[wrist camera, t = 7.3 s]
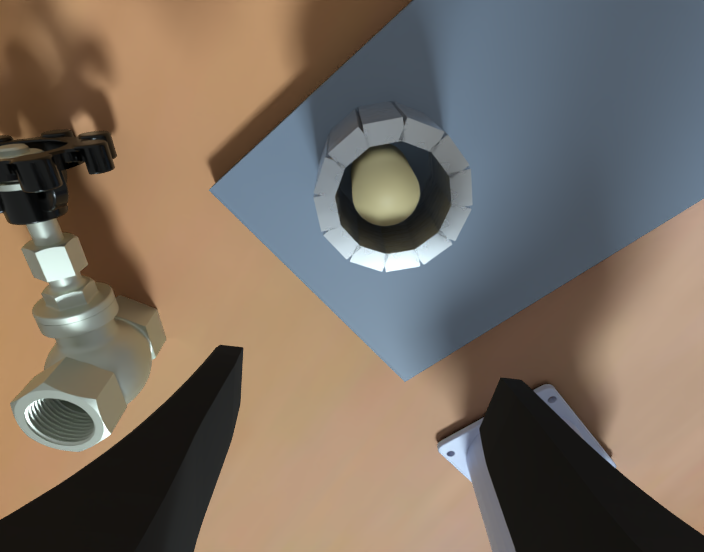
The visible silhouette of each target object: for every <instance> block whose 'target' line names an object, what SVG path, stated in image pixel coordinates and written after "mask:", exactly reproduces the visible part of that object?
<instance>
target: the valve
mask: <svg viewBox="0 0 704 552" xmlns="http://www.w3.org/2000/svg"><path fill="white" fill-rule="evenodd" d="M116 157H117V154H116V151H115V147H114V144H113V140H112V137H111V134H110V132H108V131H93V132H86V133H82V134H80V135H79V136H78V137H74V135H73V132H72V131H71V130H68V129H63V130H52V131H47V132H43V133H41V136H40V137H35V138H27V139H17V140H13V138H12V137H11V136H9V135H0V213H3V214H4V216H5V218H6V220H7V222H8V223H10V224H15V225H26V226H27V228H28V230H29V233H30V235H31V237H32V240H31V241H29V242H27V243H26V244H25V245H24V246H23V247H22V248H21V249H22V252H23V254H24V256H25V258H26V261H27V263H28V265H29V267H30V270H31V272H32V274H33V276H34V278H37V279H40V280H43V281H45V282H48V283H49V285H48V286H47V287H46V288H45V289H44V290H43V292H42V293H41V294H42V296H43V298H41V299H40V300H39V301H38V302H37V303H36V304H35V305H34V307H33V309H32V314H33V316H34V318H35V320H36V322H37V324H38V327H39V329H40V331H41V333H42V334H43V335H45V336H47V337H50V338H55V340H56V343H55V345H54V346H53V348H52V349H51V351H50V352H49V354H48V357H47V359H46V362H45V366H44V371H42V372H41V373H39V374H38V375H36V376H34V378H33V379H32V380H31V381H30V382H29V383H28V384H27V385H26V386H25V387H24V389H23V390H22V391H21V392H20V393H19V394H18V395H17V396H16V397H15V398H14V400H13V401H12V402H11V403H10V404H11V408H12V411H13V414H14V417H15V419H16V421H17V423H18V425H19V426H20V428H21V429H22V430H23V432H24V433H25V434H26V435H27V436H29V437H30V438H31V439H33V440H35V441H37V442H39V443H41V444H43V445H46V446H48V447H52V448H55V449H60V450H65V451H74V452H80V451H83V450H85V449H88V448H90V447H92V446H94V445H95V444H97V443H99V442H100V441H102V440H103V439H105V438H106V437H108V436H109V435H110V434H111V433H112V432H113V430H114V428H115V427H116V425H117V423H118V421H119V420H120V418H121V416H122V415H123V413H124V411H125V409H126V408H127V404H128V403H129V402H131V401H132V400H133V399H134V398H135V397H136V396H137V395H138V394H139V393H140V391H141V390H142V389H143V387H144V386H145V384H146V382H147V380H148V378H149V375H150V371H151V366H152V360H153V359H154V358H156V356H157V355H158V353H159V351H160V349H161V348H162V346H163V344H164V343H165V341H166V335H165V332H164V329H163V326H162V322H161V319H160V316H159V313H158V310H157V309H155V308H153V307H151V306H148V305H145V304H143V303H140V302H138V301H135V300H132V299H130V298H127V297H124V296H121V295H119V296H117V297H116V298H115V295H114V292H113V289H112V287H111V286H109V285H108V284H106V283H102V282H95V281H94V280H93V279H92V278H90V277H88V276H84V275H81V273H80V271H81V270H83V269H84V268H85V267H86V266H87V265H88V262H87V260H86V257H85V254H84V252H83V249H82V246H81V244H80V241H79V238H78V236H76V235H74V234H71V233H65V232H63V233H62V231H61V228H60V226H59V223H58V221H57V217H60V216H62V215H64V214H65V213H66V212H67V211H68V206H67V203H68V198H69V194H68V188H67V184H66V183H67V170H66V169H69V168H72V167H75V166H77V165H80V164H82V163H84V162H85V163H86V166H87V169H88V172H89V174H100V173H105V172H108V171H111V170H113V169H114V168H115V166H114V163H113V159H114V158H116Z"/></svg>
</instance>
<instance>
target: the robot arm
mask: <svg viewBox="0 0 704 552" xmlns="http://www.w3.org/2000/svg"><path fill="white" fill-rule="evenodd" d="M242 362H243V347H234V346H226V345H219V346H218V347H216V348H215V350H214V351H213V352H212V353H211V354H210V356H209V357H208V358H207V359H206V360H205V361H204V363H203V364H202V365H201V366H200V367H199V368H198V369H197V370H196V371H195V372H194V374H193V375H192V376H191V377H190V378H189V379H188V380H187V381H186V382H185V383H184V384H183V385H182V386H181V387H180V388H179V389H178V390H177V391H176V392H175V393H174V394H173V395H172V396H171V397H170V398H169V399H168V400H167V401H166V402H165V403H164V404H162V405H161V406H160V407H159V408H158V409H157V410H156V411H155V412H154V413H152V414H151V415H150V416H149V417H148V418H147V419H146V420H145V421H144V422H142V423H141V424H140V425H139V426H138V427H137V428H135V429H134V430H133V431H132V432H131V433H129V434H128V435H127V436H126V437H124V438H123V439H122V440H121V441H119V442H118V443H117V444H115V445H114V446H113V447H112V448H110V449H109V450H108V451H106V452H105V453H104V454H102V455H101V456H99V457H98V458H97V459H95V460H94V461H92V462H91V463H90V464H88V465H87V466H85V467H84V468H82V469H81V470H80V471H78V472H77V473H75V474H74V475H72V476H71V477H69V478H68V479H66V480H65V481H63V482H62V483H60V484H59V485H57V486H56V487H54V488H52V489H51V490H49V491H47V492H46V493H44V494H43V495H41V496H39V497H38V498H36V499H34V500H33V501H31V502H29V503H28V504H26V505H25V506H23V507H21V508H20V509H18V510H16V511H15V512H13V513H11V514H10V515H8V516H6V517H4V518H3V519H1V520H0V552H194V549H195V545H196V541H197V538H198V534H199V531H200V528H201V525H202V522H203V519H204V516H205V513H206V511H207V508H208V505H209V502H210V499H211V497H212V494H213V491H214V488H215V485H216V483H217V480H218V477H219V474H220V471H221V469H222V466H223V463H224V460H225V457H226V455H227V452H228V449H229V446H230V443H231V440H232V437H233V433H234V428H235V424H236V420H237V416H238V411H239V407H240V400H241V381H242ZM550 397H551V398H550ZM437 447H438V451H439V453H440V454H442V455H443V456H444V457H445V458H446V459H447V460H448V461H449V462H450V463H451V464H452V465H453V466H455V467H456V468H457V469H458V470H459V471H460V472H461V473H462V474H463V475H464V476H465V477H467V478H468V479H469V480H470V481H471V482H472V484H473V488H474V491H475V494H476V498H477V501H478V505H479V508H480V511H481V515H482V518H483V521H484V525H485V528H486V532H487V535H488V538H489V542H490V545H491V549H492V552H704V535H702V534H701V533H699V532H698V531H696V530H695V529H694V528H692V527H691V526H689V525H688V524H686V523H685V522H684V521H682V520H681V519H679V518H678V517H677V516H675V515H674V514H672V513H671V512H670V511H668V510H667V509H666V508H664V507H663V506H662V505H660V504H659V503H658V502H657V501H655V500H654V499H653V498H651V497H650V496H649V495H648V494H646V493H645V492H644V491H642V490H641V489H640V488H639V487H637V486H636V485H635V484H634V483H632V482H631V481H630V480H629V479H628V478H626V477H625V476H624V475H623V474H622V473H620V472H619V471H618V470H617V469H616V465H615V463H614V461H613V460H612V459H611V458H610V456H609V455H608V454H607V453H606V451H605V450H604V449H603V448H602V446H601V445H600V444H599V443H598V441H597V440H596V439H595V438H594V436H593V435H592V434H591V433H590V431H589V430H588V429H587V428H586V426H585V425H584V424H583V423H582V421H581V420H580V419H579V418H578V416H577V415H576V414H575V413H574V411H573V410H572V409H571V408H570V406H569V405H568V404H567V403H566V401H565V400H564V399H563V398H562V396H561V395H560V394H559V393H558V391H557V390H556V389H555V388H554V386H552V385H550V384H544V385H542V386H540V387H538V388H536V389H534V390H532V389H531V388H530V387H529V386H528V385H526V384H525V383H524V382H523V381H522V380H517V379H508V378H500V380H499V383H498V385H497V388H496V390H495V392H494V395H493V397H492V399H491V402H490V404H489V407H488V409H487V411H486V414H485V416H484V417H483V418H481V419H480V420H478V421H476V422H474V423H472V424H470V425H469V426H467V427H465V428H463V429H461V430H460V431H458V432H456V433H454V434H452V435H450V436H449V437H447V438H445V439H443V440H441V441H440V442H439V443H438V444H437Z"/></svg>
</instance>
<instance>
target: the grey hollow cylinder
mask: <svg viewBox="0 0 704 552" xmlns="http://www.w3.org/2000/svg"><path fill="white" fill-rule="evenodd" d="M358 109H359V114H358V112H357V111H356V110H355V109H354V110H353V111H352V112H350V113H349V114H348V115H347V116H346V117H345V118H344V119H343V120H342V121H340V122H339V123H338V124H337V125H336V126H335V127H334V128H333V129H332V130H331V132H330V134H328V137H327V140H326V143H325V146H324V149H323V152H322V155H321V159H320V162H319V166H318V172H317V177H316V183H315V188H314V197H313V198H314V202H315V207H316V211H317V215H318V220H319V224H320V228H321V232H322V231H324V232H323V236H324V237H325V238H326V239H327V240H328V241H329V242H330V243H331V244H332V245H333V246H334V247H335V248H336V249H337V250H338V251H339V252H340V253H341V254H342V255H343V256H344V257H345V259H346V260H347V259H348V258H349V257H350V262H353V263H356V264H359V265H362V266H365V267H369V268H372V269H375V270H378V271H381V272H382V271H383V268H384V266H385V269H386V272H389V271H395V270H401V269H407V268H413V267H419V266H420V262H419V260H420V261H421V262H422V263H423V264H426V263H427V262H428V261H430V260H431V259H433V258H434V257H435V256H437V255H438V254H440V253H441V252H442V251H444V250H445V249H447V248H448V247H449V246H451V245H452V242H451V241H450V239H451V240H454V241H456V239H457V237H458V235H459V233H460V231H461V229H462V227H463V225H464V223H465V221H466V219H467V217H468V215H469V214H470V212H471V210H472V209H471V208H470V207H469V206H471V205H473V203H472V181H471V169H470V168H469V167H468V166H469V163H468V162H467V161H466V159H465V158H464V156H463V155H462V154H461V152H460V151H459V149H458V148H457V147H456V145H455V144H454V142H453V141H452V139H451V138H450V137H449V135H448V134H447V133H446V132H445V131H443V130H442V129H441V128H440V127H439V126H438V125H437V124H435V123H434V122H433V121H432V120H431V119H430V118H429V117H428V116H426V115H425V114H424V113H422V112H420V111H417V110H415V109H412V108H410V107H407V106H405V105H402V104H399V103H397V102H393V104H392V103H391V102H390V101H387V102H381V103H376V104H371V105H366V106H361V107H358ZM399 141H403V142H406V143H409V144H411V145H414V146H417V147H419V148H422V149H425V150H427V151H428V156H429V167H430V175H429V177H428V179H427V182H426V184H425V186H424V188H423V190H422V193H421V195H420V197H419V201H418V204H417V206H416V208H415V210H414V211H413V213H412V214H411V215H410V216H409V217H408V218H407V219H405V220H404V221H402V222H400V223H398V224H395V225H391V226H379V225H375V224H372V223H370V222H368V221H366V220H365V219H363V218H362V217H361V216H360V215H359V213H358V212H357V210H356V208H355V206H354V204H353V203H352V202H351V201H350V200H349V198H348V197H347V196H346V195H345V194H344V193H343V192H342V191H341V188H340V181H341V178H342V175H343V172H344V170H345V168H346V167H347V166H348V165H349V164H350V163H352V162H353V161H354V160H355V159H356V158H357V157H359V156H360V155H361V154H362V153H363V152H364V151H366V150H367V149H368V148H369V147H372V146H378V145H383V144H388V143H394V142H399Z"/></svg>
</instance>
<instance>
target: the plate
mask: <svg viewBox="0 0 704 552" xmlns="http://www.w3.org/2000/svg"><path fill="white" fill-rule="evenodd" d="M387 101H390V102H391V103H392V104H393V102H397V103H399V104H402V105H405V106H407V107H410V108H412V109H415V110H417V111H420V112H422V113H424V114H425V115H426V116H428V117H429V118H430V119H431V120H432V121H433V122H434V123H435V124H437V125H438V126H439V127H440V128H441V129H442V130H443V131H445V132H446V133H447V134H448V135H449V137H450V138H451V139H452V141H453V142H454V144H455V145H456V147H457V148H458V149H459V151H460V152H461V154H462V155H463V156H464V158H465V159H466V161H467V162H468V163H469V166H468V167H469V168H470V169H471V181H472V203H473V205H471V206H469V207H470V208H471V209H472V210H471V212H470V214H469V215H468V217H467V219H466V221H465V223H464V225H463V227H462V229H461V231H460V233H459V235H458V237H457V239H456V241H454V240H451V239H450V241H451V242H452V245H451V246H449V247H448V248H447V249H445V250H444V251H442V252H441V253H440V254H438V255H437V256H435V257H434V258H433V259H431V260H430V261H428V262H427V263H426V264H423V263H422V262H421V261H420V260H419V262H420V266H419V267H413V268H407V269H401V270H395V271H389V272H386V269H385V266H384V268H383V271H382V272H381V271H378V270H375V269H372V268H369V267H365V266H362V265H359V264H356V263H353V262H350V257H349V258H348V259H347V260H346V259H345V257H344V256H343V255H342V254H341V253H340V252H339V251H338V250H337V249H336V248H335V247H334V246H333V245H332V244H331V243H330V242H329V241H328V240H327V239H326V238H325V237H324V236H323V232H324V231H322V232H321V228H320V224H319V220H318V215H317V211H316V207H315V202H314V198H313V197H314V188H315V183H316V177H317V172H318V166H319V162H320V159H321V155H322V152H323V149H324V146H325V143H326V140H327V137H328V134H330V132H331V130H332V129H333V128H334V127H335V126H336V125H337V124H338V123H339V122H340V121H342V120H343V119H344V118H345V117H346V116H347V115H348V114H349V113H350V112H352V111H353V110H354V109H355V110H356V111H357V112H358V114H359V109H358V107H361V106H366V105H371V104H376V103H381V102H387ZM429 175H430V167H429V156H428V151H427V150H425V149H422V148H419V147H417V146H414V145H411V144H409V143H406V142H403V141H399V142H394V143H388V144H383V145H378V146H372V147H369V148H368V149H367V150H366V151H364V152H363V153H362V154H361V155H360V156H359V157H357V158H356V159H355V160H354V161H353V162H352V163H350V164H349V165H348V166H347V167H346V168H345V170H344V172H343V175H342V178H341V181H340V188H341V191H342V192H343V193H344V194H345V195H346V196H347V197H348V198H349V200H350V201H351V202H352V203H353V204H354V206H355V208H356V210H357V212H358V213H359V215H360V216H361V217H362V218H363V219H365V220H366V221H368V222H370V223H372V224H375V225H379V226H391V225H395V224H398V223H400V222H402V221H404V220H405V219H407V218H408V217H409V216H410V215H411V214H412V213H413V211H414V210H415V208H416V206H417V204H418V201H419V197H420V195H421V193H422V190H423V188H424V186H425V184H426V182H427V179H428V177H429ZM209 191H210V192H211V193H212V194H213V195H214V196H215V197H216V198H217V199H218V200H219V201H220V202H221V203H222V204H223V205H225V206H226V207H227V208H228V209H229V210H230V211H231V212H232V213H233V214H234V215H235V216H236V217H237V218H238V219H239V220H240V221H241V222H242V223H243V224H244V225H245V226H246V227H247V228H248V229H249V230H250V231H251V232H252V233H253V234H254V235H255V236H256V237H257V238H258V239H259V240H260V241H261V242H262V243H263V244H264V245H265V246H266V247H267V248H269V249H270V250H271V251H272V252H273V253H274V254H275V255H276V256H277V257H278V258H279V259H280V260H281V261H282V262H283V263H284V264H285V265H286V266H287V267H288V268H289V269H290V270H291V271H292V272H293V273H294V274H295V275H296V276H297V277H298V278H299V279H300V280H301V281H302V282H303V283H304V284H305V285H306V286H307V287H308V288H309V289H310V290H311V291H312V292H314V293H315V294H316V295H317V296H318V297H319V298H320V299H321V300H322V301H323V302H324V303H325V304H326V305H327V306H328V307H329V308H330V309H331V310H332V311H333V312H334V313H335V314H336V315H337V316H338V317H339V318H340V319H341V320H342V321H343V322H344V323H345V324H346V325H347V326H348V327H349V328H350V329H351V330H352V331H353V332H354V333H355V334H356V335H357V336H359V337H360V338H361V339H362V340H363V341H364V342H365V343H366V344H367V345H368V346H369V347H370V348H371V349H372V350H373V351H374V352H375V353H376V354H377V355H378V356H379V357H380V358H381V359H382V360H383V361H384V362H385V363H386V364H387V365H388V366H389V367H390V368H391V369H392V370H393V371H394V372H395V373H396V374H397V375H398V376H399V377H400V378H401V379H402V380H404V381H405V382H406V381H407V380H409V379H410V378H412V377H414V376H415V375H417V374H419V373H420V372H422V371H423V370H425V369H427V368H428V367H430V366H432V365H433V364H435V363H437V362H438V361H440V360H441V359H443V358H445V357H446V356H448V355H450V354H451V353H453V352H454V351H456V350H458V349H459V348H461V347H463V346H464V345H466V344H467V343H469V342H471V341H472V340H474V339H476V338H477V337H479V336H481V335H482V334H484V333H485V332H487V331H489V330H490V329H492V328H494V327H495V326H497V325H498V324H500V323H502V322H503V321H505V320H507V319H508V318H510V317H511V316H513V315H515V314H516V313H518V312H520V311H521V310H523V309H524V308H526V307H528V306H529V305H531V304H533V303H534V302H536V301H538V300H539V299H541V298H542V297H544V296H546V295H547V294H549V293H551V292H552V291H554V290H555V289H557V288H559V287H560V286H562V285H564V284H565V283H567V282H568V281H570V280H572V279H573V278H575V277H577V276H578V275H580V274H581V273H583V272H585V271H586V270H588V269H590V268H591V267H593V266H595V265H596V264H598V263H599V262H601V261H603V260H604V259H606V258H608V257H609V256H611V255H612V254H614V253H616V252H617V251H619V250H621V249H622V248H624V247H625V246H627V245H629V244H630V243H632V242H634V241H635V240H637V239H639V238H640V237H642V236H643V235H645V234H647V233H648V232H650V231H652V230H653V229H655V228H656V227H658V226H660V225H661V224H663V223H665V222H666V221H668V220H669V219H671V218H673V217H674V216H676V215H678V214H679V213H681V212H682V211H684V210H686V209H687V208H689V207H691V206H692V205H694V204H696V203H697V202H699V201H700V200H702V199H704V0H412V1H411V2H410V3H409V4H408V5H407V6H406V7H405V8H404V9H403V10H401V11H400V12H399V13H398V14H397V15H396V16H395V17H394V18H393V19H392V20H391V21H390V22H389V23H387V24H386V25H385V26H384V27H383V28H382V29H381V30H380V31H379V32H378V33H377V34H376V35H374V36H373V37H372V38H371V39H370V40H369V41H368V42H367V43H366V44H365V45H364V46H363V47H362V48H360V49H359V50H358V51H357V52H356V53H355V54H354V55H353V56H352V57H351V58H350V59H349V60H348V61H346V62H345V63H344V64H343V65H342V66H341V67H340V68H339V69H338V70H337V71H336V72H335V73H334V74H332V75H331V76H330V77H329V78H328V79H327V80H326V81H325V82H324V83H323V84H322V85H321V86H319V87H318V88H317V89H316V90H315V91H314V92H313V93H312V94H311V95H310V96H309V97H308V98H307V99H305V100H304V101H303V102H302V103H301V104H300V105H299V106H298V107H297V108H296V109H295V110H294V111H293V112H291V113H290V114H289V115H288V116H287V117H286V118H285V119H284V120H283V121H282V122H281V123H280V124H278V125H277V126H276V127H275V128H274V129H273V130H272V131H271V132H270V133H269V134H268V135H267V136H266V137H264V138H263V139H262V140H261V141H260V142H259V143H258V144H257V145H256V146H255V147H254V148H253V149H252V150H250V151H249V152H248V153H247V154H246V155H245V156H244V157H243V158H242V159H241V160H240V161H239V162H237V163H236V164H235V165H234V166H233V167H232V168H231V169H230V170H229V171H228V172H227V173H226V174H225V175H223V176H222V177H221V178H220V179H219V180H218V181H217V182H216V183H215V184H214V185H213V186H212V187H211V188H210V190H209Z"/></svg>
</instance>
